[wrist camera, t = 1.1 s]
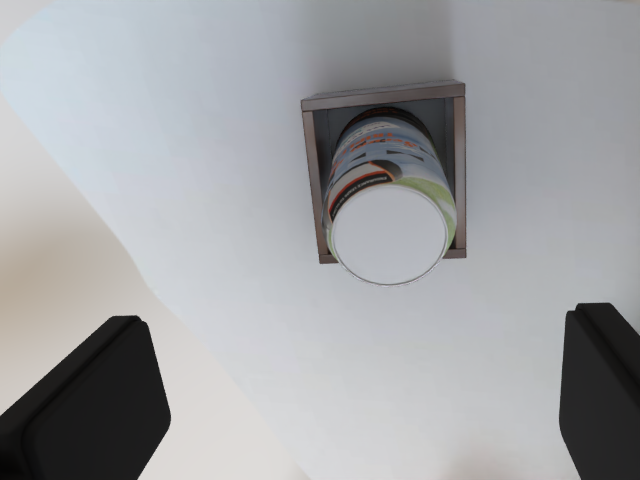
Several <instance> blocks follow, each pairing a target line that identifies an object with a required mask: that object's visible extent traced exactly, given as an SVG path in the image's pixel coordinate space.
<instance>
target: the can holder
mask: <svg viewBox="0 0 640 480" xmlns="http://www.w3.org/2000/svg"><path fill="white" fill-rule="evenodd" d="M437 98H445V127H446V175H447V182H448V185H449V188H450V191H451V194H452V197H453V199H454V203H455V207H456V212H457V225H456V230H455V235H454V238H453V240H452V243H451V245H450V247H449V248H448V250H447V252H446V253H445V255H444V256H443V257H442V258H441V259H454V258H466V130H465V83H462V82H459V81H456V80H446V81H436V82H427V83H417V84H408V85H398V86H389V87H379V88H370V89H360V90H351V91H341V92H332V93H322V94H316V95H313V96H311V97H308V98H306V99H303V100H301V109H302V118H303V126H304V135H305V143H306V152H307V160H308V169H309V178H310V186H311V195H312V203H313V212H314V220H315V229H316V237H317V246H318V254H319V263H320V264H328V263H339V262H338V261H337V260H336V258H335V257H334V256H333V255H332V253H331V252H330V250H329V248H328V247H327V245H326V242H325V239H324V237H323V232H322V226H321V216H322V209H323V204H324V200H325V195H326V191H327V186H328V181H329V177H330V172H331V168H332V158H331V148H330V138H329V128H328V118H327V109H336V108H346V107H356V106H366V105H376V104H386V103H397V102H407V101H417V100H427V99H437Z"/></svg>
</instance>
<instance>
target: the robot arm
mask: <svg viewBox="0 0 640 480" xmlns="http://www.w3.org/2000/svg"><path fill="white" fill-rule="evenodd" d="M170 421H171V414H170V409H169V405H168V401H167V397H166V393H165V390H164V386H163V382H162V378H161V374H160V370H159V367H158V362H157V358H156V355H155V351H154V347H153V343H152V339H151V335H150V331H149V327H148V325H147V323H146V322H144V321H142V320H141V319H140V318H139V317H138V316H136V315H135V316H112V317H111V318H109V319H108V320H107V321H106V322H105V323H104V324H102V325H101V326H100V327H99V328H98V329H97V330H96V331H95V332H94V333H92V334H91V335H90V336H89V337H88V338H87V339H86V340H85V341H84V342H82V343H81V344H80V345H79V346H78V347H77V348H76V349H75V350H73V351H72V352H71V353H70V354H69V355H68V356H67V357H66V358H65V359H63V360H62V361H61V362H60V363H59V364H58V365H57V366H56V367H54V368H53V369H52V370H51V371H50V372H49V373H48V374H47V375H46V376H44V377H43V378H42V379H41V380H40V381H39V382H38V383H36V384H35V385H34V386H33V387H32V388H31V389H30V390H29V391H28V392H27V393H25V394H24V395H23V396H22V397H21V398H20V399H19V400H18V401H16V402H15V403H14V404H13V405H12V406H11V407H10V408H9V409H7V410H6V411H5V412H4V413H3V414H2V415H1V416H0V480H137V479H138V477H139V476H140V474H141V473H142V471H143V470H144V468H145V466H146V465H147V463H148V462H149V460H150V458H151V457H152V455H153V453H154V452H155V450H156V449H157V447H158V445H159V444H160V442H161V440H162V439H163V437H164V436H165V434H166V432H167V431H168V429H169V426H170ZM559 425H560V431H561V434H562V437H563V440H564V442H565V444H566V446H567V449H568V451H569V453H570V455H571V458H572V460H573V462H574V464H575V467H576V469H577V471H578V473H579V476H580V478H581V480H640V336H639V334H638V333H637V332H636V331H635V330H634V329H633V328H632V327H631V325H630V324H629V323H628V322H627V321H626V320H625V319H624V318H623V316H622V315H621V314H620V313H619V312H618V311H617V310H616V309H615V307H614V306H613V305H612V304H610V303H578V305H577V306H576V308H575V311H568V312H567V314H566V321H565V336H564V351H563V366H562V381H561V396H560V411H559Z"/></svg>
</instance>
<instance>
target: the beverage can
mask: <svg viewBox="0 0 640 480" xmlns="http://www.w3.org/2000/svg"><path fill="white" fill-rule="evenodd" d="M456 225H457V212H456V207H455V203H454V199H453V197H452V194H451V191H450V188H449V185H448V182H447V180H446V177H445V174H444V171H443V168H442V166H441V163H440V160H439V157H438V154H437V152H436V149H435V146H434V143H433V140H432V138H431V135H430V133H429V131H428V130H427V128H426V127H425V125H424V124H423V123H422V122H421V121H420V120H419V119H418V118H417V117H415V116H414V115H412V114H411V113H409V112H407V111H404V110H402V109H398V108H394V107H380V108H374V109H370V110H367V111H365V112H363V113H361V114H359V115H358V116H356V117H355V118H354V119H352V120H351V121H350V122H349V123H348V124H347V125H346V126H345V128H344V129H343V131H342V132H341V134H340V136H339V139H338V141H337V145H336V149H335V154H334V158H333V163H332V168H331V172H330V177H329V181H328V186H327V191H326V195H325V200H324V204H323V209H322V216H321V226H322V232H323V237H324V239H325V242H326V245H327V247H328V248H329V250H330V252H331V253H332V255H333V256H334V257H335V258H336V260H337V261H338V262H339V263H340V264H341V265H342V266H343V268H344V269H345V270H346V271H347V272H348V273H350V274H351V275H352V276H353V277H355V278H357V279H359V280H360V281H363V282H365V283H368V284H371V285H376V286H382V287H396V286H402V285H407V284H410V283H412V282H415V281H417V280H419V279H421V278H422V277H424V276H426V275H427V274H428V273H429V272H431V271H432V270H433V269H434V268H435V267H436V266H437V264H438V263H439V262H440V260H441V258H442V257H443V256H444V255H445V253H446V252H447V250H448V248H449V247H450V245H451V243H452V240H453V238H454V235H455V230H456Z"/></svg>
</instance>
